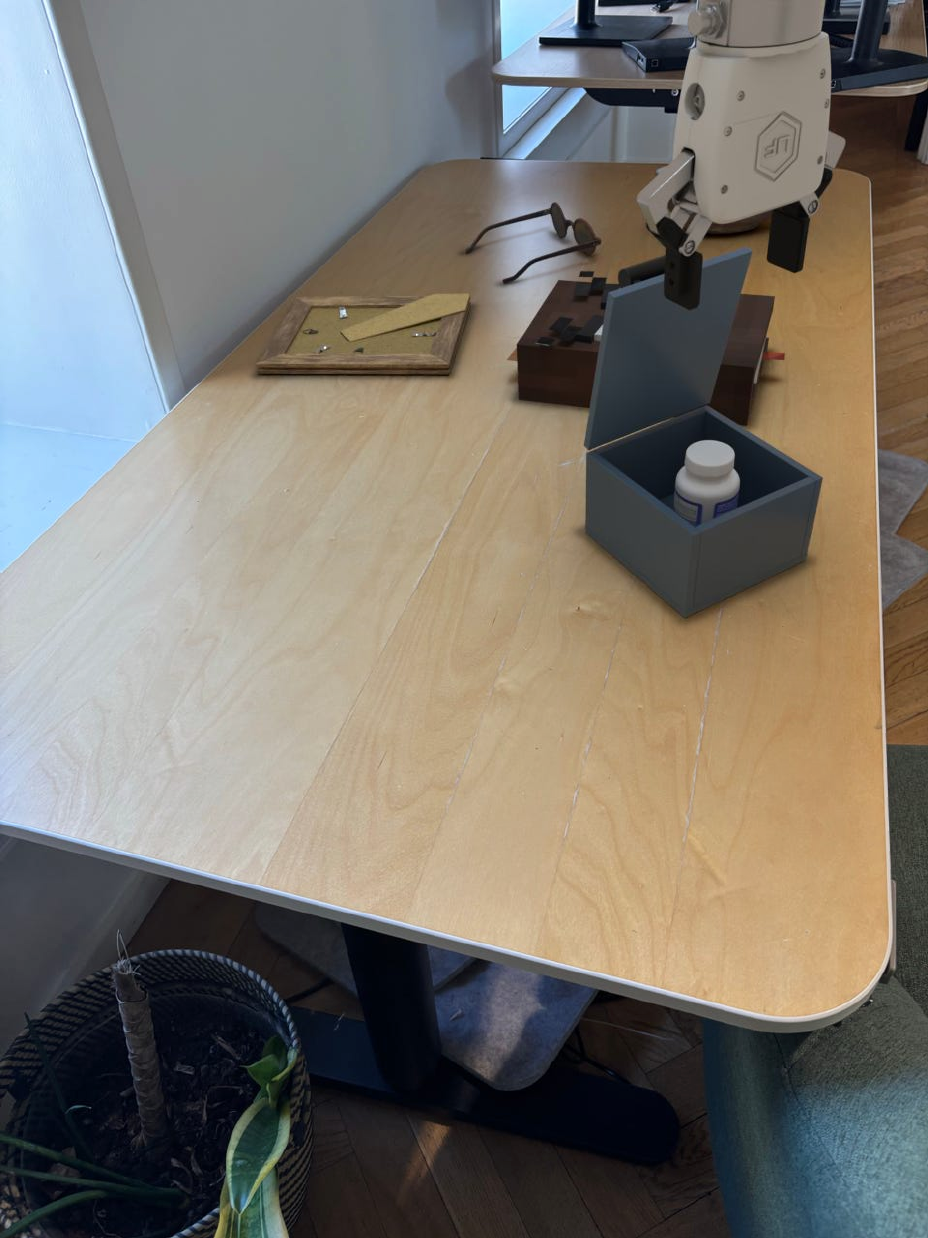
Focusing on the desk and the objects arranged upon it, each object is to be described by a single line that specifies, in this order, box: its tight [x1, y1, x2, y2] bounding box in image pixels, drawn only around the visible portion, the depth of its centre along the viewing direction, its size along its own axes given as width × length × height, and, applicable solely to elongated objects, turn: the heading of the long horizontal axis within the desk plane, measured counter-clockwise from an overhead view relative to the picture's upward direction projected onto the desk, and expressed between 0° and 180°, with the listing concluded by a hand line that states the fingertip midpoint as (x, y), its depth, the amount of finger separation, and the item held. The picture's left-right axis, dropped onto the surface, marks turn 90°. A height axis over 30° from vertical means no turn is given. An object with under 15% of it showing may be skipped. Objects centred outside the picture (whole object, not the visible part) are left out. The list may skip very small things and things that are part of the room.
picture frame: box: [256, 293, 472, 375], centre depth 125 cm, size 19×2×24 cm
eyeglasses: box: [465, 201, 602, 284], centre depth 140 cm, size 15×15×5 cm
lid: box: [583, 246, 754, 451], centre depth 84 cm, size 15×14×5 cm
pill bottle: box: [673, 440, 740, 527], centre depth 86 cm, size 5×5×10 cm
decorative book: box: [506, 270, 786, 426], centre depth 112 cm, size 19×8×30 cm
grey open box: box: [584, 405, 824, 619], centre depth 87 cm, size 15×14×9 cm
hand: (733, 284), depth 73 cm, fingers open, 9 cm apart
